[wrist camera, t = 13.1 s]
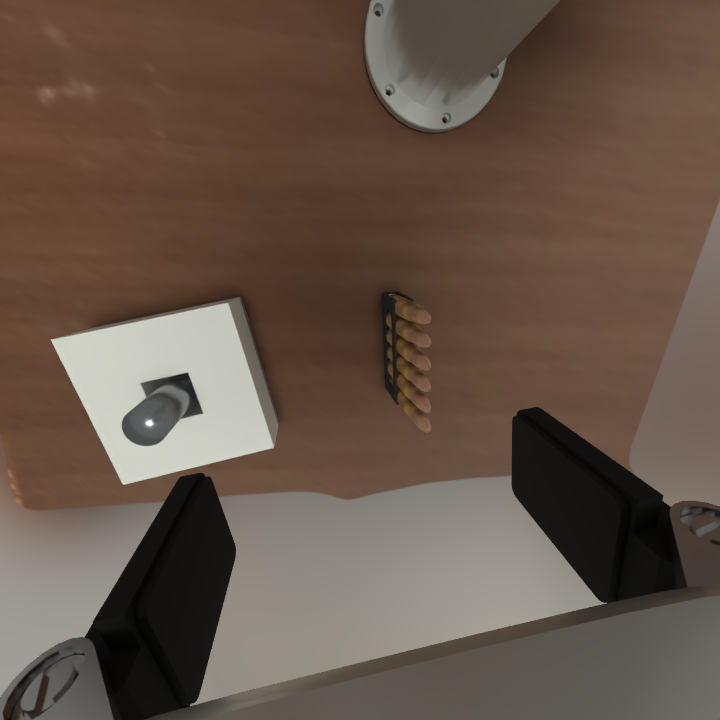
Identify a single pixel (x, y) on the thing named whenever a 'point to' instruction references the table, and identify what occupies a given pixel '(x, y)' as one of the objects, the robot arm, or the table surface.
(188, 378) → the pin
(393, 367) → the ammunition clip
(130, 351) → the socket block
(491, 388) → the table surface
